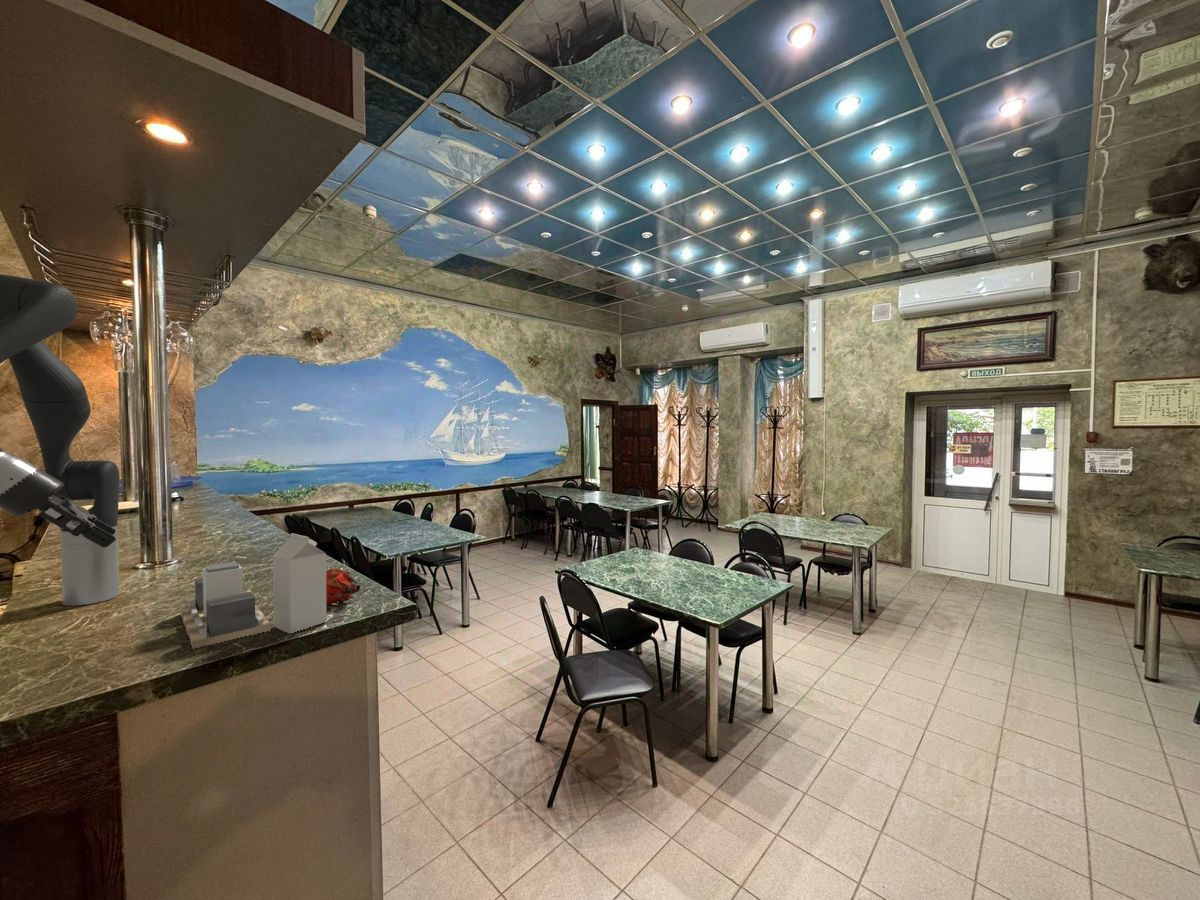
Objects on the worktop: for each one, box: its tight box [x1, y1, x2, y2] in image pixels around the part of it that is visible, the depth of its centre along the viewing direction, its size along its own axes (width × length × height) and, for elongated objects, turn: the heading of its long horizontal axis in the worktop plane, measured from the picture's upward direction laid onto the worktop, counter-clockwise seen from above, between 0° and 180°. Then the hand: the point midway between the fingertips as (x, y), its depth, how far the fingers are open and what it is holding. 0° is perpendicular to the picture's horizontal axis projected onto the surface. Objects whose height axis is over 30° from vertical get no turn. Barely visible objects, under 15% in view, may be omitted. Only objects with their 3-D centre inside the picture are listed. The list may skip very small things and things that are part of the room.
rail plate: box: [179, 576, 272, 650], centre depth 100 cm, size 24×12×8 cm, turn 46°
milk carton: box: [272, 532, 327, 635], centre depth 98 cm, size 7×7×19 cm
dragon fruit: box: [326, 567, 361, 605], centre depth 112 cm, size 8×8×12 cm
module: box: [202, 561, 244, 623], centre depth 99 cm, size 5×6×11 cm
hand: (111, 539), depth 89 cm, fingers open, 8 cm apart
